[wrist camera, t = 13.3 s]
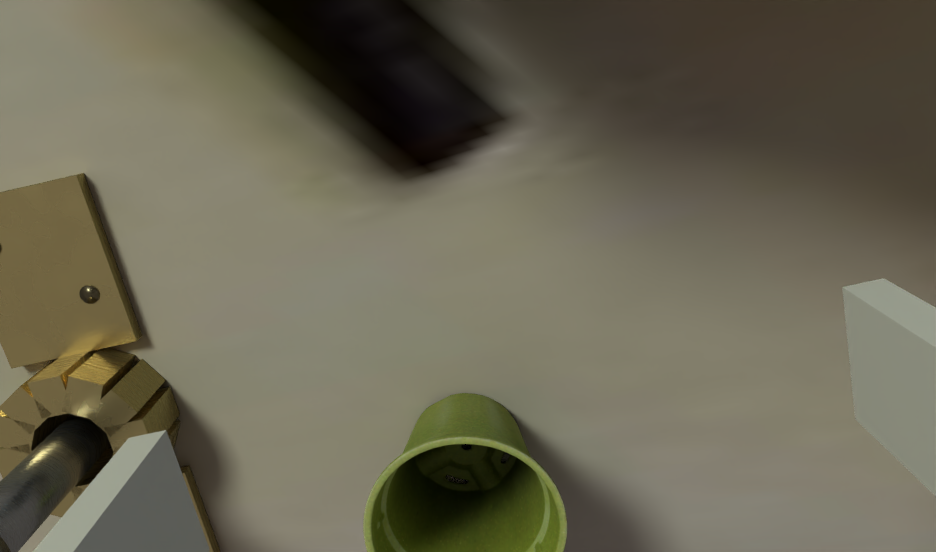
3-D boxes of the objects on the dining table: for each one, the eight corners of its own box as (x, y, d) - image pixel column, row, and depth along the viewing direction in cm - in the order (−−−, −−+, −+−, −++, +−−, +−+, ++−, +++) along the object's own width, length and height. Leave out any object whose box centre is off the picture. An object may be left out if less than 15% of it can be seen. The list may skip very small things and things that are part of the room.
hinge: (-56, 205, 41) (-110, 222, 37) (92, 170, 41) (54, 184, 37) (117, 620, 48) (87, 671, 44) (244, 595, 48) (225, 643, 44)
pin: (60, 391, 44) (-117, 544, 31) (126, 376, 44) (-23, 525, 30) (84, 451, 45) (-76, 626, 32) (149, 438, 45) (15, 607, 31)
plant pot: (367, 497, 46) (346, 598, 38) (399, 347, 44) (384, 420, 35) (525, 528, 47) (539, 634, 38) (566, 382, 44) (590, 461, 36)
